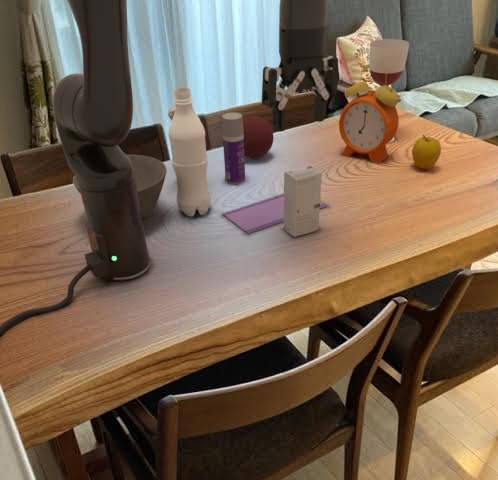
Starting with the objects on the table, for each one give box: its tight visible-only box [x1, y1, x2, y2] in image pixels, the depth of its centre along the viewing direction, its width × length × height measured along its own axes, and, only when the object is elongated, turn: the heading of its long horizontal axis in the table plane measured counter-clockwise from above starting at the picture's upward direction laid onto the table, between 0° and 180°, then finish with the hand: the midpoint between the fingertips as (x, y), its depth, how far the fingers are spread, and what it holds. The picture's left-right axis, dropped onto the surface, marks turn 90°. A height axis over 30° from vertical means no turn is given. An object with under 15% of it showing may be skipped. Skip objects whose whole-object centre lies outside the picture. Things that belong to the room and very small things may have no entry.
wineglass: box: [368, 38, 410, 143], centre depth 138 cm, size 9×10×23 cm
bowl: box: [72, 154, 167, 219], centre depth 112 cm, size 19×19×10 cm
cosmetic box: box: [283, 165, 323, 238], centre depth 105 cm, size 6×4×12 cm
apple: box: [411, 134, 442, 170], centre depth 127 cm, size 6×6×8 cm
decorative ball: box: [242, 115, 274, 159], centre depth 134 cm, size 10×10×10 cm
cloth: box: [222, 193, 328, 235], centre depth 115 cm, size 20×10×1 cm, turn 122°
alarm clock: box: [338, 68, 400, 164], centre depth 130 cm, size 13×6×20 cm, turn 53°
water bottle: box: [168, 86, 212, 217], centre depth 108 cm, size 7×7×25 cm
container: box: [221, 112, 246, 185], centre depth 122 cm, size 5×5×15 cm
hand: (299, 125), depth 95 cm, fingers open, 8 cm apart
